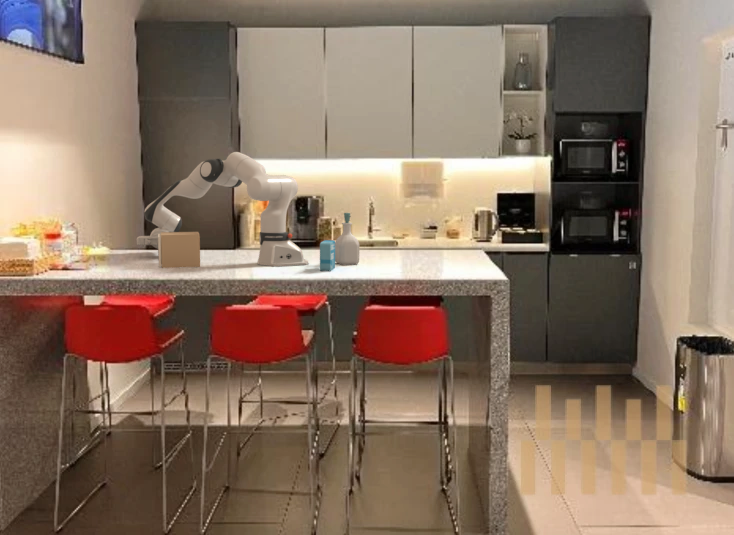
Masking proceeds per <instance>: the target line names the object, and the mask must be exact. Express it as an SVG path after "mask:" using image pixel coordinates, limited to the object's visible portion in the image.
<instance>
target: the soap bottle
mask: <svg viewBox="0 0 734 535" xmlns="http://www.w3.org/2000/svg"><path fill="white" fill-rule="evenodd" d="M343 216H344V218H343V220H344V221H345V222H341V224H342V227H343V229H342V230H343V231H342V233H341V235H339V236H338V237H337V238H336V240H335V264H339V265H341V266H347V265H348V266H349V265H351V266H352V265H353V266H354V265H358V264H359V262H360V242H359V240H358V239H357V237H356V236H355V235H354V234H352V225H353V222H350V219H351V213H350V212H344V213H343Z"/></svg>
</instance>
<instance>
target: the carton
mask: <svg viewBox="0 0 734 535" xmlns="http://www.w3.org/2000/svg"><path fill="white" fill-rule="evenodd" d="M200 238H201V236H200V233H199V231H179V232H161V255H162V264H161V269H172V268H179V269H180V268H201V240H200Z"/></svg>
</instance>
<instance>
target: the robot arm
mask: <svg viewBox="0 0 734 535" xmlns="http://www.w3.org/2000/svg"><path fill="white" fill-rule="evenodd" d="M242 183H244V184H245V185H246V193H247V195H248V196H249V197H250V199H252V200H255V201H260V202H268V204H267V206H266V208H265V209H264V210H263V211H262V212H261V214H260V232H259V240H258V241H259V245H260V246H259V253H258V254H259V255H258V259H257V263H256V264H257V265H260V266H261V265H262V266H271V267H285V266H286V267H287V266H288V267H289V266H305V265H307V266H308V265H309V260H307V259H304V254H303V250H302V249H301V248H300V247H299V246H298V245H297V244H295V243H294V242H293V241H291V239H292V237H293V234H292V233H291V232H290V233H289V232H288V231H286V230H287V224H286V223H287V213H288V210H289V205H290V204H291V201H292V200H293V198H295V196H297V194H298V191H299V185H298V182H297V180H296V178H294V177H292V176H289V175H284V174H278V175H277V174H276V175H275V174H274V175H273V174H267V173H266V168H265V167H264V165H262V164H261V163H260V162H258V161H256V160H255V159H254V158H252V157H251V156H248V155H247V154H245V153H241V152H239V151H234V152H231V153H230V154H228V156H226V159H225V160H222V159H221V158H209V159H206V160H204V161H201V162H200V163H199V164H197V166H196V167H195V168H194V169H193V170H192V172H191V173H190V174H189V175H188V176H187V177H186V178H184V179H183V180H182V179H181V180H180V179H178V180H176V181H174V182H173V183H172V184H171V185H169V186H168V187H167V188H166V189H165V190H164V191H163V192H162V193H161V194H160V195H159V196H158V197H157V198H155V199H154V200H153V201H152V202H151V203H149V204H147V206H146V207H145V208H144V211H143V216H144V218H145V220H146V221H148V223H149V222H150V223H151V224H153V225H155V226H156V227H157V228H156V227H155V228H154V229H152V231H150V235H139V236H137V237H136V245H137V246H152V247H154V248H155V249H157V250H158V234H161V232H180V230H181V228H182V225H183V219H182V217H181V216H179V215H178V214H176V213H175V212H173V211H171V209H168V208H167V207H166V206H164V204H165V203H166V202H167V201H169V200H170V199H171V198H173V197H174V196H179V197H184V198H188V199H194V200H195V199H197V200H198V199H200V198H202V197H204V196H205V195H206V193H208V192H209V190H210V189H211V187H212V186H213V184H214V185H217V186H221V187H228V188H238V187H240V186H241V184H242Z"/></svg>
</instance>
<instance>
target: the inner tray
mask: <svg viewBox="0 0 734 535" xmlns="http://www.w3.org/2000/svg"><path fill="white" fill-rule="evenodd" d="M157 256H158V267H161V268H162V255H161V234H158V249H157Z"/></svg>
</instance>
